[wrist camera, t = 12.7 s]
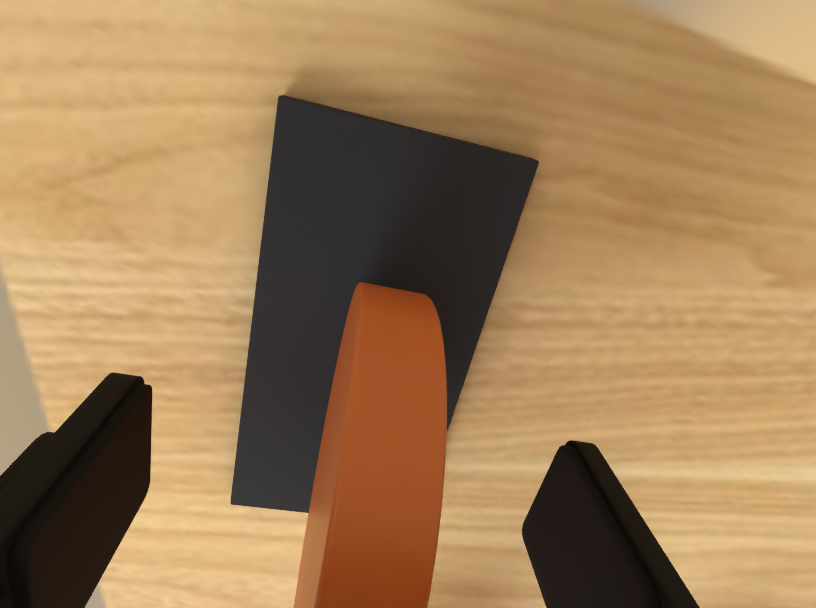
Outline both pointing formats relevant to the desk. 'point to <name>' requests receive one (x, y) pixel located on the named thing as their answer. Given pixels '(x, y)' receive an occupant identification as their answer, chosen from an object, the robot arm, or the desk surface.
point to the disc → (379, 459)
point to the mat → (360, 269)
